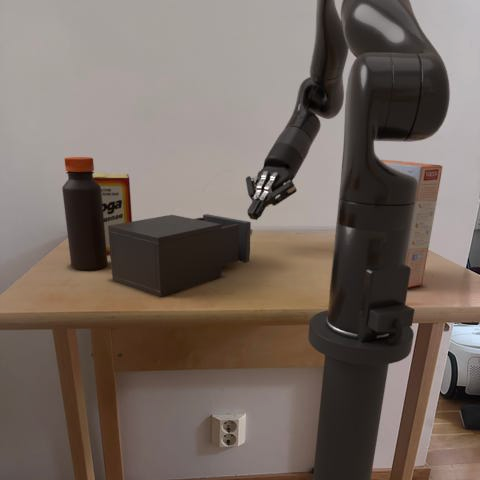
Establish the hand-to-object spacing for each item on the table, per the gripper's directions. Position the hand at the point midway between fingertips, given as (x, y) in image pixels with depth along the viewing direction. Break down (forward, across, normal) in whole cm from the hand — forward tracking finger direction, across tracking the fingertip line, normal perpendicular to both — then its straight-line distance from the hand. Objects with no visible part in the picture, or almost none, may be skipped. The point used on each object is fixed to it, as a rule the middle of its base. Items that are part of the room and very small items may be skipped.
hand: (252, 217), depth 103 cm
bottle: (+26, -17, -15) cm, 35 cm away
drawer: (+14, 0, -4) cm, 14 cm away
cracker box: (+3, +29, +8) cm, 30 cm away
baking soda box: (+19, -24, -8) cm, 32 cm away
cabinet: (+23, 0, -12) cm, 26 cm away
